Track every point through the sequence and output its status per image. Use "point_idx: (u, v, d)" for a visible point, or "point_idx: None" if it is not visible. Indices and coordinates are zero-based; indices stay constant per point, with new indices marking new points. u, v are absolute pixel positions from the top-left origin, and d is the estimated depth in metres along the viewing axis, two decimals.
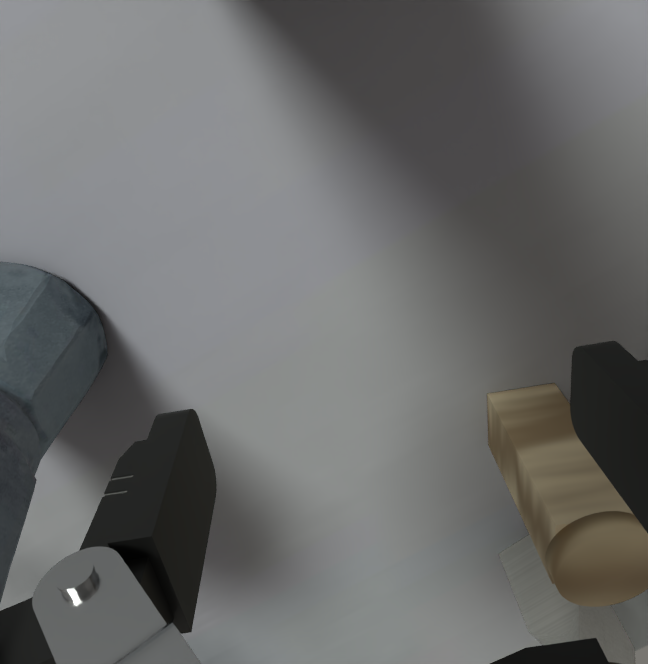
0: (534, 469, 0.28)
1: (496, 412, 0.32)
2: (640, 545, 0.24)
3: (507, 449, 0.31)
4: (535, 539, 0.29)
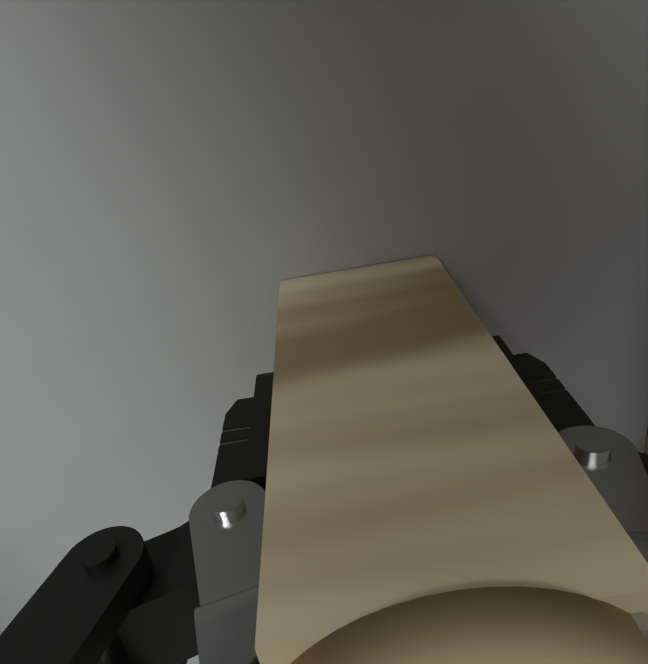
0: (293, 431, 0.09)
1: None
2: None
3: None
4: None
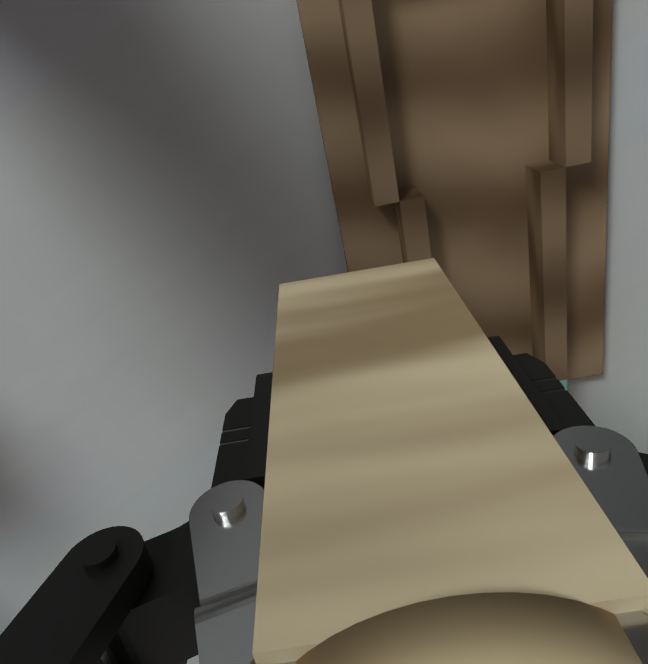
0: (292, 436, 0.09)
1: None
2: None
3: None
4: None
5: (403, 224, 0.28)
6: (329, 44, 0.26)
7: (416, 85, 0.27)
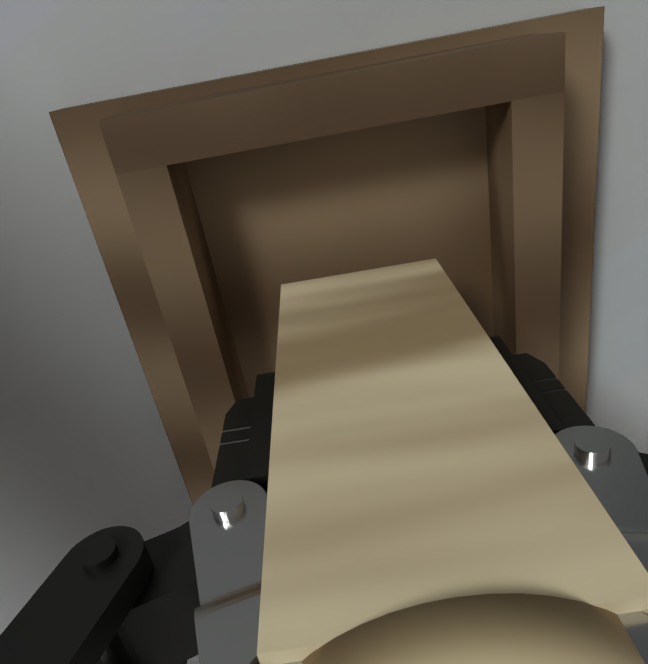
0: (294, 436, 0.09)
1: None
2: None
3: None
4: None
5: None
6: (142, 260, 0.16)
7: None
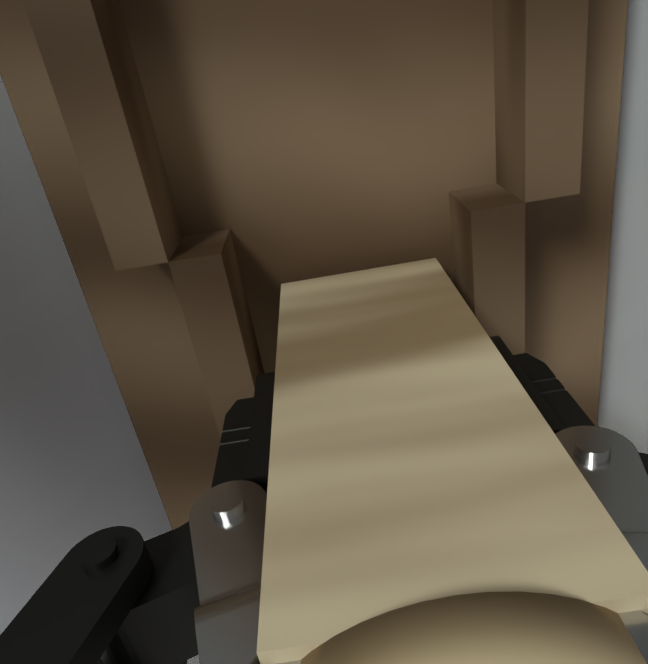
0: (294, 435, 0.09)
1: None
2: None
3: None
4: None
5: (183, 308, 0.13)
6: None
7: (206, 11, 0.12)
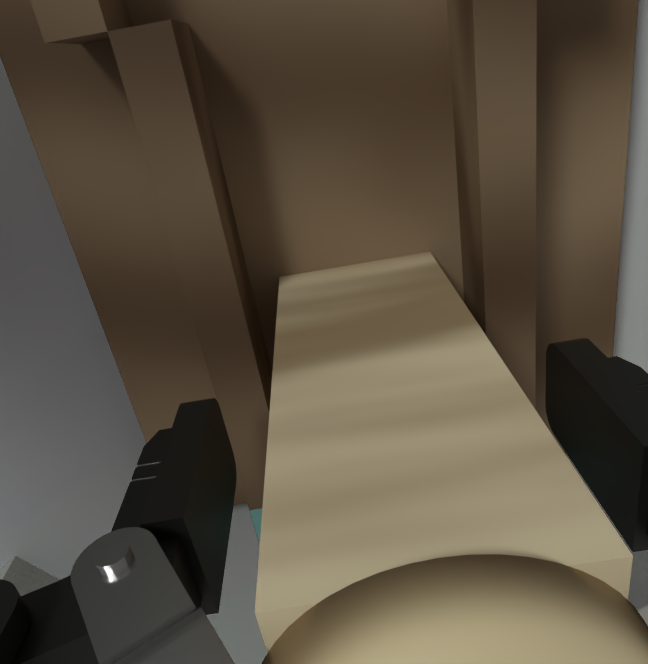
0: (292, 418, 0.09)
1: None
2: None
3: None
4: None
5: (129, 96, 0.11)
6: None
7: None
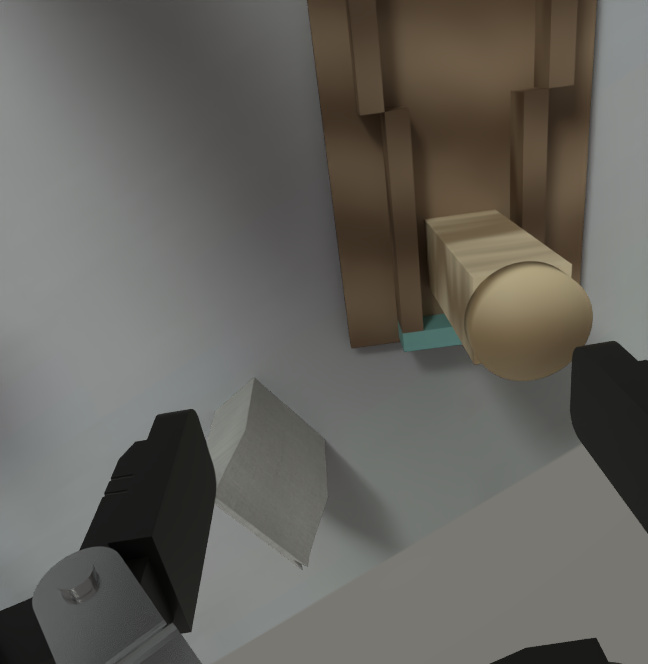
0: (460, 251, 0.26)
1: (431, 228, 0.30)
2: (562, 290, 0.22)
3: (439, 258, 0.29)
4: (461, 332, 0.26)
5: (387, 136, 0.28)
6: None
7: None
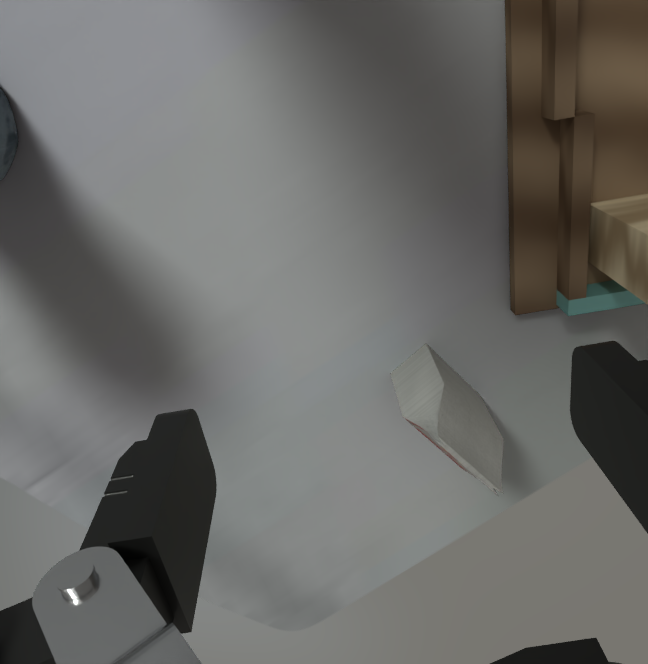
0: (647, 230, 0.32)
1: (600, 211, 0.37)
2: None
3: (613, 236, 0.35)
4: None
5: (574, 136, 0.34)
6: None
7: (593, 22, 0.33)
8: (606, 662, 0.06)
